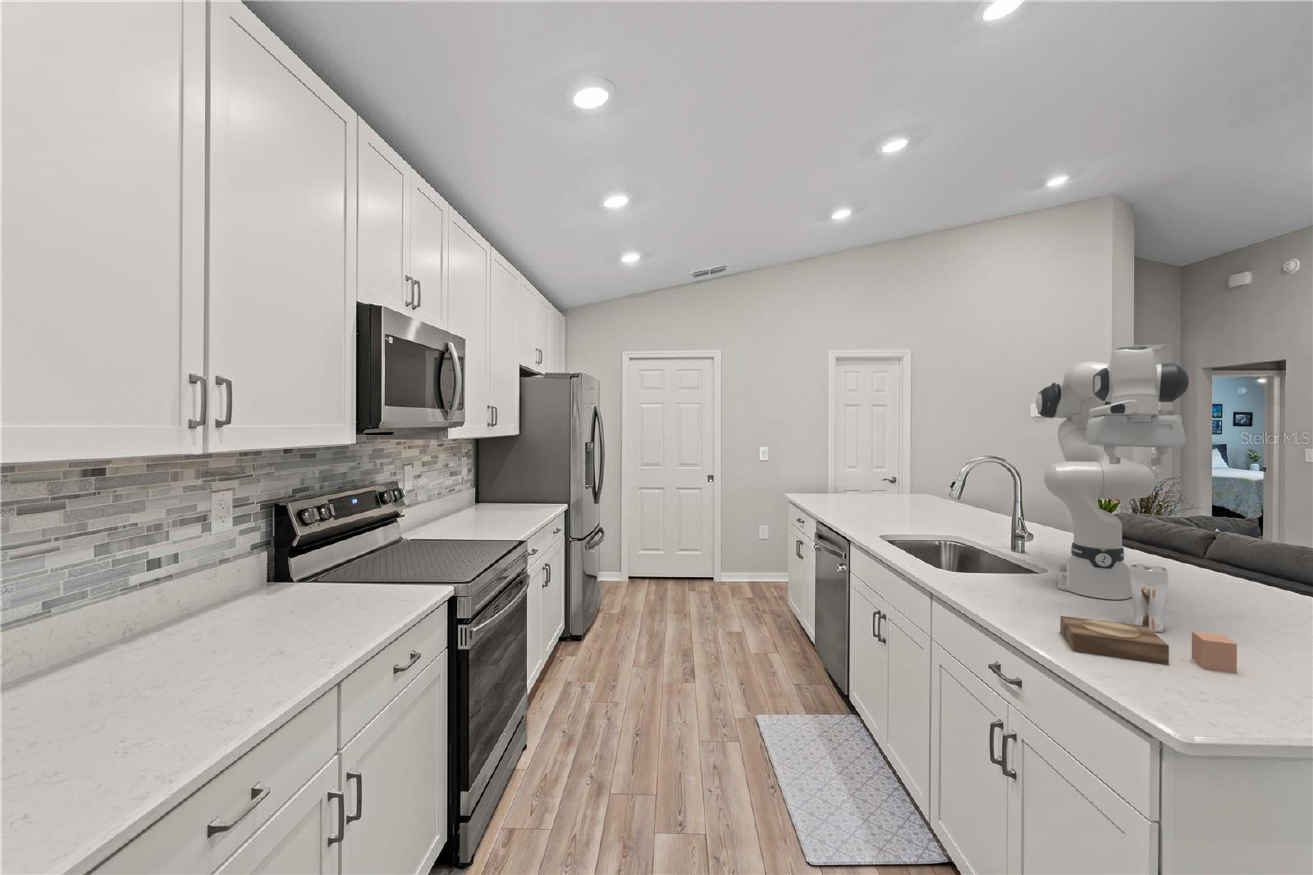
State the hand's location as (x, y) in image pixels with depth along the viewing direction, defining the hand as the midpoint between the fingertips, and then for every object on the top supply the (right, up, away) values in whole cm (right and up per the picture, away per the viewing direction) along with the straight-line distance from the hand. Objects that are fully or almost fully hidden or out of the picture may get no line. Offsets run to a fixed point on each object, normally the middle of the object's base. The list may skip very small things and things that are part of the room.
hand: (1135, 465), depth 132 cm
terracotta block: (-3, -41, -22) cm, 46 cm away
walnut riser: (-16, -41, -12) cm, 45 cm away
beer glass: (+2, -40, -1) cm, 40 cm away
